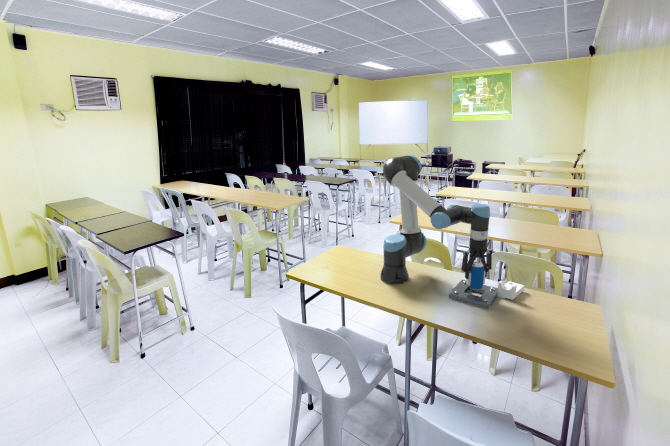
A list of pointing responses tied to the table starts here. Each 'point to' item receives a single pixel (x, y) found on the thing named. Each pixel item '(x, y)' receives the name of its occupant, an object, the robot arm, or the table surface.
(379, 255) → the table surface
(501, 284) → the bracket
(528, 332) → the table surface
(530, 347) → the table surface
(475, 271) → the beverage can
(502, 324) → the table surface
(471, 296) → the grey fixture plate
